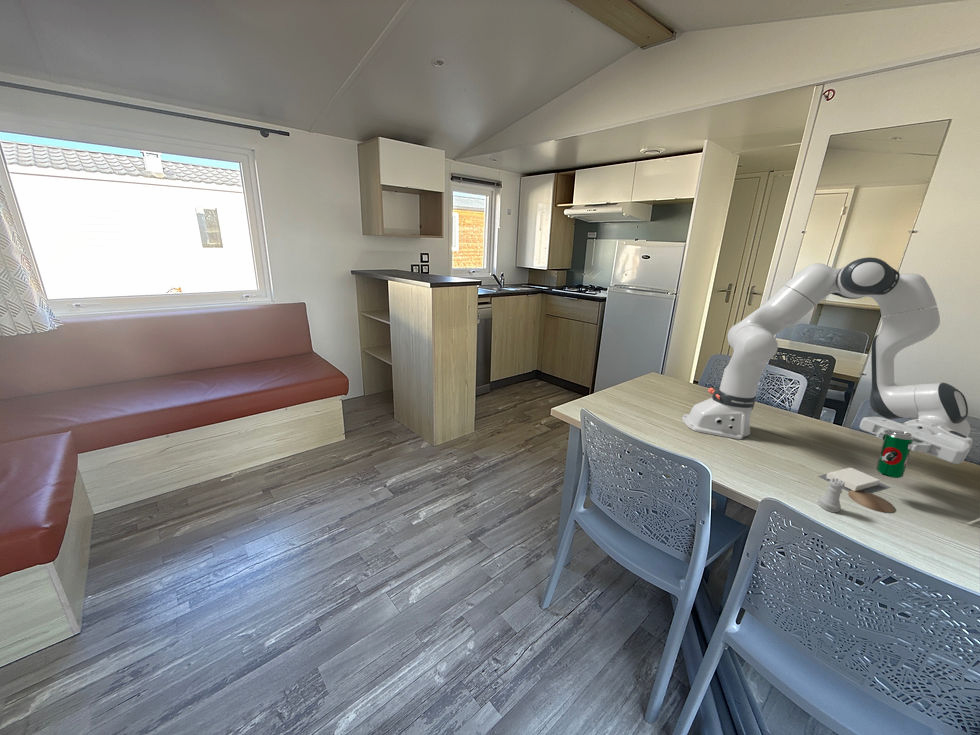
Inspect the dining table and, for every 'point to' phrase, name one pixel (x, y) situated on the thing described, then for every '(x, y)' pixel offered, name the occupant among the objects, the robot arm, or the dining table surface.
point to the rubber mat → (869, 490)
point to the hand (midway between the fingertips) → (894, 441)
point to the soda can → (894, 453)
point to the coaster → (871, 501)
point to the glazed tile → (853, 479)
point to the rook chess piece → (832, 496)
